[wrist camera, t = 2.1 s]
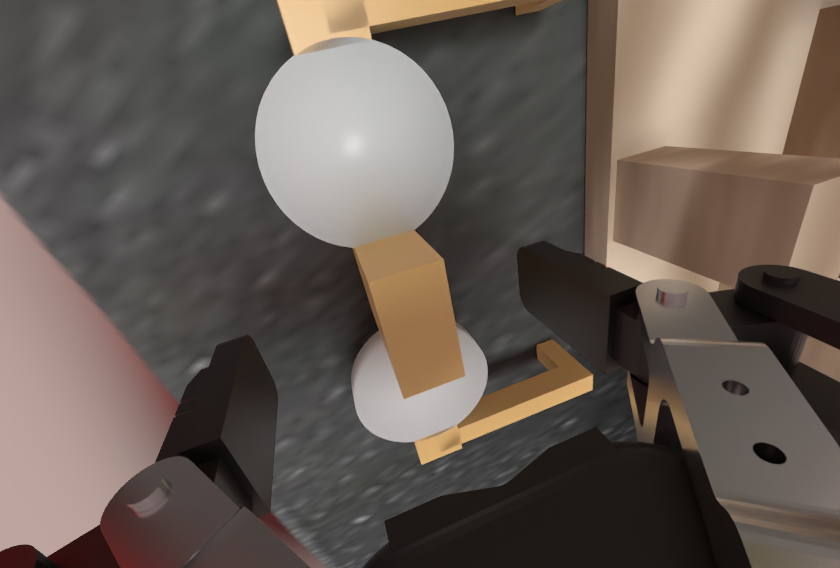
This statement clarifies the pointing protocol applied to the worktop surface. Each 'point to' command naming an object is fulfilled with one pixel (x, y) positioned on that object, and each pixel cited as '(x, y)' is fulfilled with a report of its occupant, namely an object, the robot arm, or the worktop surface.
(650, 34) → the display stand
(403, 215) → the glasses
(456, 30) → the worktop surface
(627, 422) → the worktop surface
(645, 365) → the robot arm
